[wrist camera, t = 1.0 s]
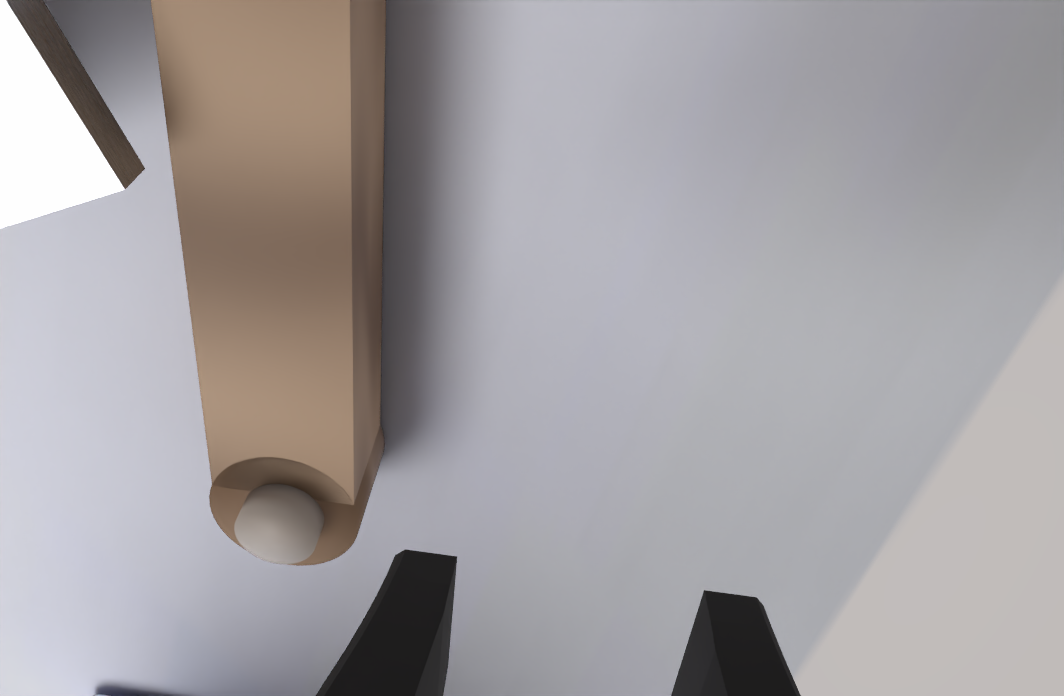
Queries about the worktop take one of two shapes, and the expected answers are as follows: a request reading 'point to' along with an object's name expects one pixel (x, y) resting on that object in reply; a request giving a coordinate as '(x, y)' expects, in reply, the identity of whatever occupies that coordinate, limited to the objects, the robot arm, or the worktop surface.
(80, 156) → the bracket
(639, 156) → the worktop surface
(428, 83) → the worktop surface
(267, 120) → the link
